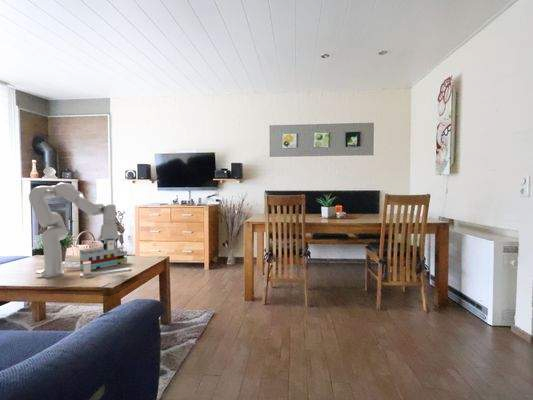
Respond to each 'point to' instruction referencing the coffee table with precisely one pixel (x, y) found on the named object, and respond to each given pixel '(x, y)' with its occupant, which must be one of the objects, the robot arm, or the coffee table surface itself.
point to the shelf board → (106, 272)
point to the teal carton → (110, 245)
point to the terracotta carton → (87, 268)
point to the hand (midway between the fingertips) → (109, 248)
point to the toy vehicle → (102, 257)
